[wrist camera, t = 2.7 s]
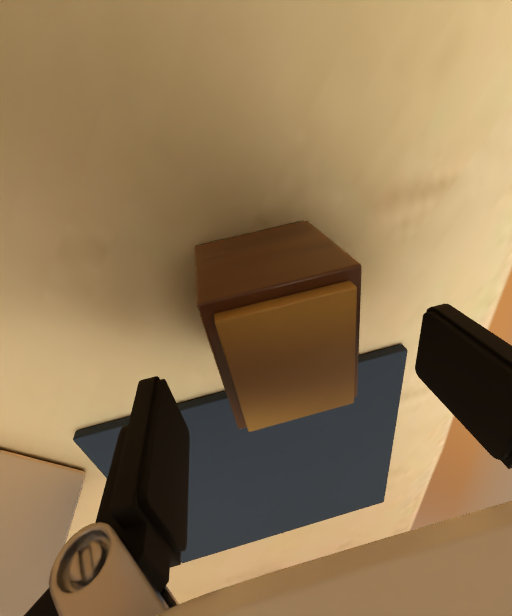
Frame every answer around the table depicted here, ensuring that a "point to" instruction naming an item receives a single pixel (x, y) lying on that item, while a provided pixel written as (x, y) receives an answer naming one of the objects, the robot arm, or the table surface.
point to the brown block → (281, 322)
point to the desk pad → (279, 461)
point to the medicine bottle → (32, 526)
